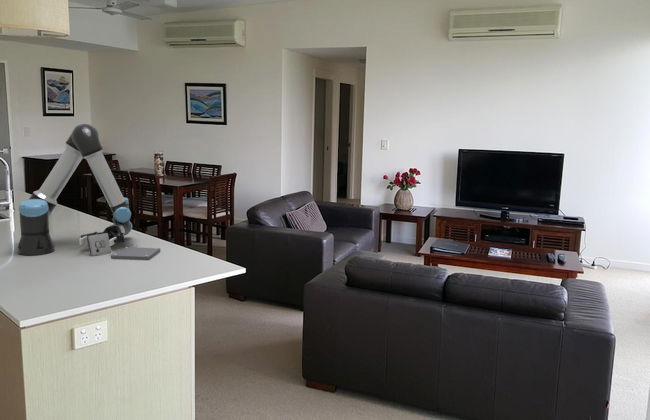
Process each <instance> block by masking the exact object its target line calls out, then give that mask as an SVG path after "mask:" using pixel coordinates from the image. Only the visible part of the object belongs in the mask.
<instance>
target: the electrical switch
mask: <svg viewBox="0 0 650 420" xmlns="http://www.w3.org/2000/svg"><path fill="white" fill-rule="evenodd" d="M87 241H88V242H87V246H88V250H89V255H91V256H92V257H94V256H102V255H106V254H110V253H111V252H112V248H111V247H112V246H109V237H108V234H107V233H104V234H98V235H92V236H89V237H88V238H87Z"/></svg>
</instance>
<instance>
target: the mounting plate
mask: <svg viewBox="0 0 650 420" xmlns="http://www.w3.org/2000/svg"><path fill="white" fill-rule="evenodd" d="M160 252H161V247H133V246H130V247H129V246H124V247H123V248H121V249H119V250H117V251H116V252H115V253H113V254H111V255H110V259H111V260H133V261H134V260H135V261H136V260H137V261H150V260H151V259H153V258H154V257H155V256H156V255H158V254H159V253H160Z"/></svg>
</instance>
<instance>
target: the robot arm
mask: <svg viewBox="0 0 650 420" xmlns="http://www.w3.org/2000/svg"><path fill="white" fill-rule="evenodd" d="M99 137H100V136H99V131H98V130H97V129H96V127H94V126H93V125H91V124H89V123H80V124H77V125H76V126H74V128H73V130H72V132H71V134H70V135H69V137H68V138H67V139H66V141H65V149H64V150H63V152H62V154H61V156H60V157H59V159H58V160H57V161H56V163H55V165H54V166H53V168H52V170H50V173H49V174H48V175H47V177H46V178H45V180H44V182H43V183H42V185H41V186H40V188H39V189H37V190H35V191H33V192H32V194H31V195H30V197H29V198H28V199H27V200H23V201H21V202H20V203H19V206H18V212H19V227H20V238H19V242H18V245H17V254H18V255H22V256H39V255H46V254H50V253H53V252H54V251H55V243H54V240H53V239H52V237H51V235H50V219H49V218H50V216H51V214H52V212H53V211H54V209H55V208H56V206H57V205H58V201H57V199H58V197H59V195H60V194H61V192H62V191H63V189H64V188H65V186H66V185H67V183H68V182H69V180H70V179H71V177H72V175H73V174H74V172H75V171H76V169H77V168H78V166H79V164H80V163H81V162H82V160H83V159H85V160H86V162H87V163H88V166H89V167H90V170H91V172H92V174H93V176H94V177H95V180H96V182H97V185H98V186H99V188H100V190H101V191H102V194H103V195H104V198H105V200H106V201H107V204H108V206H109V208H110V210H111V212H112V215H113V221H112V222H113V223H112V224H111V225H109V226H108V227H106V228H105V229H104V230H103V231H101V232H98V231H95V232H91V233H90V232H89V233H87V234H81V235H80V238H79V240H78V242H79V243H78V244H79V246H82V245H84V244H87V243H88V241H87V238H88V237H89V236H92V235H98V234H104V233H107V234H108V237H109V246H110V247H112V246H114V245H115V244H118V243H125V236H127V235H128V234H130V232H131V231H132V230H133V223H132V222H131V221H130V220H131V216H132V212H131V210H130V205H129V204H130V203H129V198H128V197H124V195H123V194H122V191H121V190H120V189H121V188H120V187H119V185H118V183H117V180H116V179H115V176H114V174H113V173H112V171H111V168H110V166H109V164H108V162H107V160H106V158H105V156H104V154H103V152H104V151H103V150H104V149H103V147H102V143H101V142H100V141H101V140H100V138H99Z"/></svg>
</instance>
